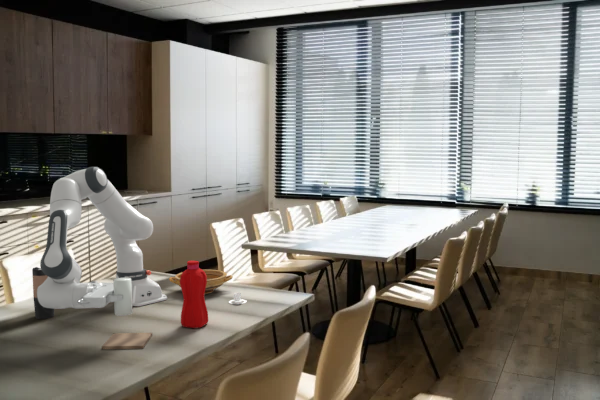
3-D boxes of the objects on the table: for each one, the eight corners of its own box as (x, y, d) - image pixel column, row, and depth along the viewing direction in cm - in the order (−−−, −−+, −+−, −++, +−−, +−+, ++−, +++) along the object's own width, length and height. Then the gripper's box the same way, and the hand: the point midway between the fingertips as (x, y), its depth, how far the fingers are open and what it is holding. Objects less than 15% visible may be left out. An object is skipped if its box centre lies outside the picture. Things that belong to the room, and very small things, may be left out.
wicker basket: (166, 299, 265) (165, 281, 265) (172, 286, 290) (172, 270, 289) (232, 296, 268) (232, 279, 267) (233, 284, 292) (233, 268, 291)
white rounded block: (129, 309, 211) (127, 276, 210) (135, 313, 206) (133, 279, 205) (112, 312, 208) (110, 279, 206) (117, 316, 203) (116, 282, 202)
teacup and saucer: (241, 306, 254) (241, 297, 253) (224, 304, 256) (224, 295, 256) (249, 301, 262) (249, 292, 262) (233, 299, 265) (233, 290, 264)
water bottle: (213, 321, 231) (211, 258, 228) (199, 329, 220) (197, 263, 218) (192, 319, 234) (190, 257, 231) (177, 327, 223) (175, 262, 221)
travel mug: (47, 319, 236) (44, 270, 234) (30, 318, 238) (27, 269, 236) (59, 314, 243) (56, 266, 242) (42, 313, 245) (39, 265, 243)
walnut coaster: (101, 349, 200) (101, 346, 200) (113, 336, 214) (113, 333, 214) (143, 348, 201) (143, 345, 201) (152, 335, 215) (152, 332, 215)
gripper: (74, 294, 195) (116, 293, 196) (94, 279, 216) (132, 279, 216) (75, 312, 196) (117, 312, 196) (95, 296, 216) (133, 296, 217)
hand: (125, 294), depth 206 cm, fingers closed on white rounded block, 6 cm apart
